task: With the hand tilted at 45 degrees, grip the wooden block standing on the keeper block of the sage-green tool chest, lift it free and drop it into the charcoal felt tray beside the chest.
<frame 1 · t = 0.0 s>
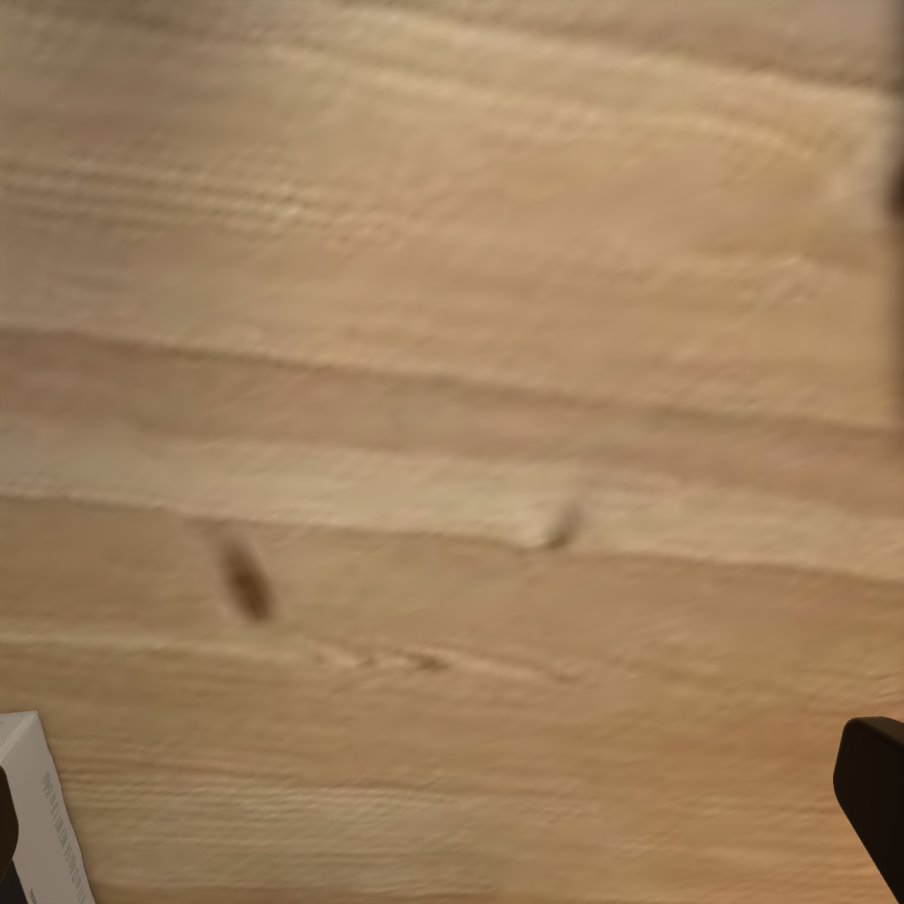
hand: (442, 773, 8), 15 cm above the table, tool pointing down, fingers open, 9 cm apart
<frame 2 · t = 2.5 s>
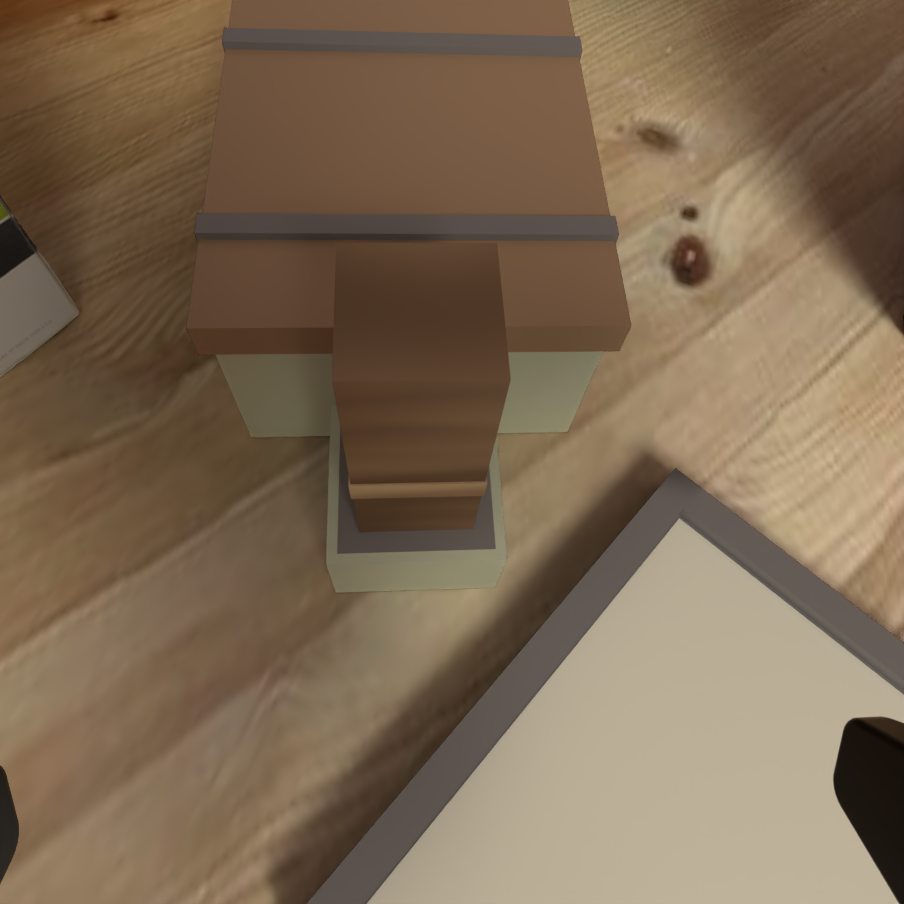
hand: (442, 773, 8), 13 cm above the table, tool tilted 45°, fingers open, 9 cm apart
tool chest: (414, 515, 23), on the table
felt tray: (679, 845, 19), on the table
wooden block: (415, 478, 20), point 3 cm above the table, touching tool chest
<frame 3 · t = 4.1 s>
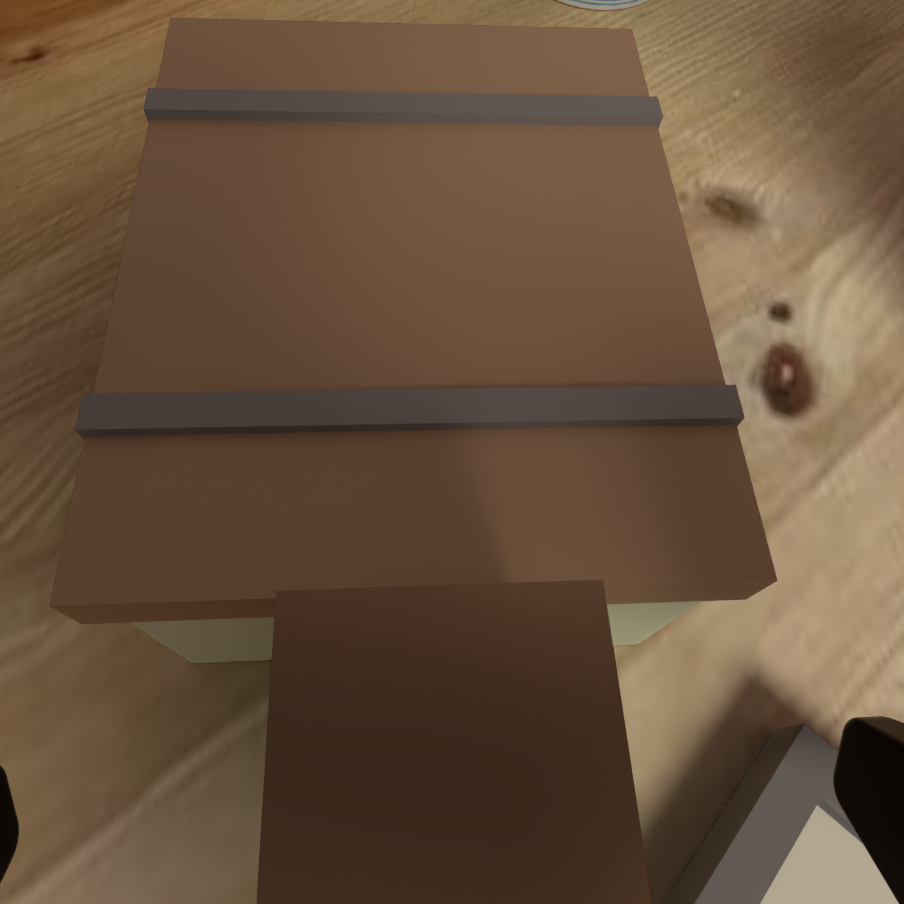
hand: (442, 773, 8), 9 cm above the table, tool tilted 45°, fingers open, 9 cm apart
tool chest: (424, 788, 16), on the table
wooden block: (427, 785, 13), point 3 cm above the table, touching tool chest
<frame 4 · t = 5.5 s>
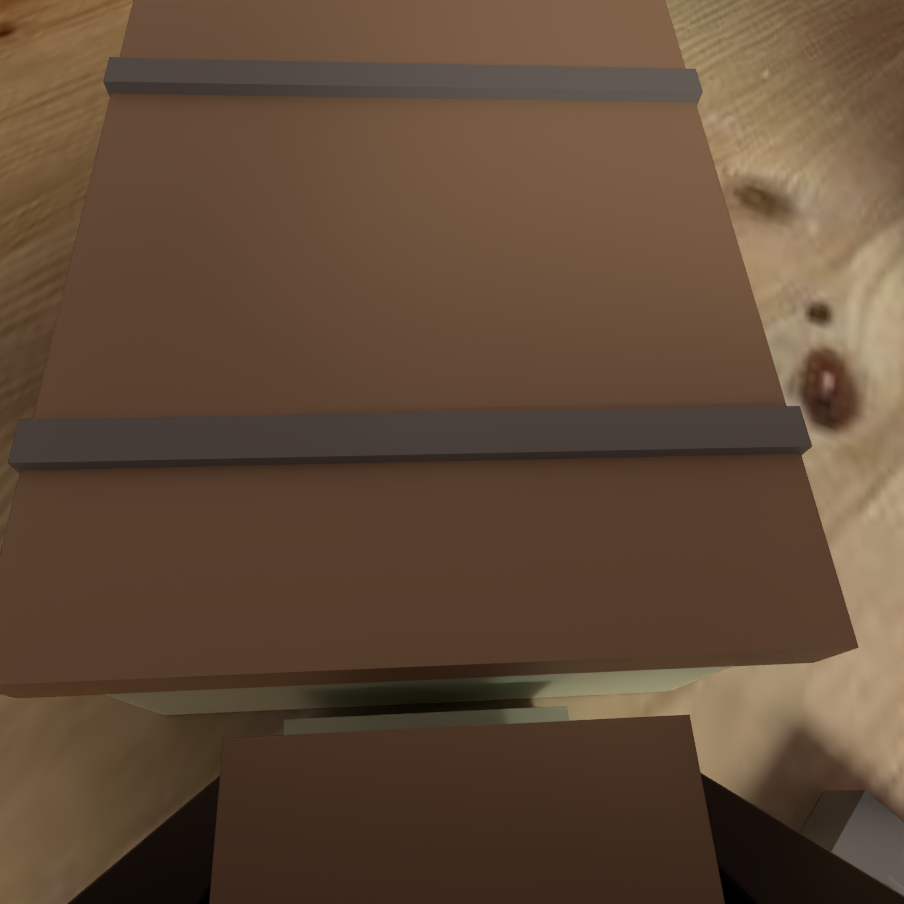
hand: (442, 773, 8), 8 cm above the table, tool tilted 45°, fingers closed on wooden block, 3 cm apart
tool chest: (428, 861, 14), on the table
wooden block: (433, 877, 11), point 3 cm above the table, touching gripper, tool chest
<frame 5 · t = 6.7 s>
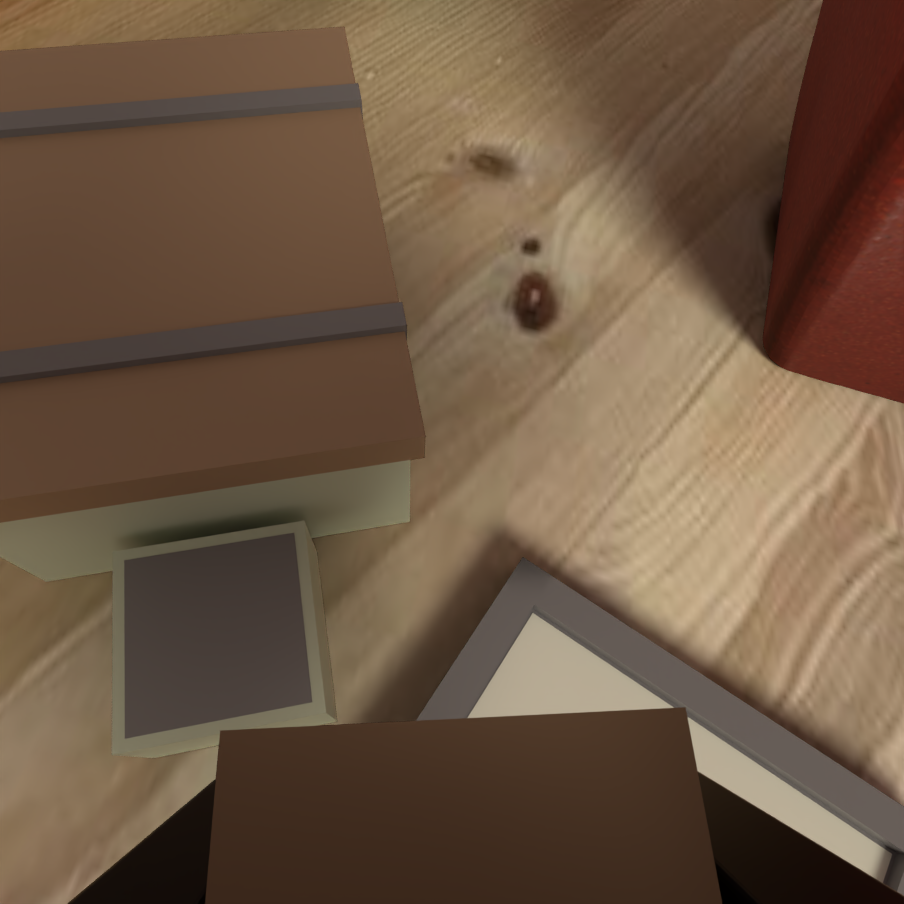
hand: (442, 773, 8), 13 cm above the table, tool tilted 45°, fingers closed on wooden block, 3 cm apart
tool chest: (240, 648, 20), on the table
wooden block: (431, 874, 11), point 8 cm above the table, touching gripper
when the fingers open (8 cm above the table, at t = 8.2 s): wooden block drops 2 cm, resting on felt tray.
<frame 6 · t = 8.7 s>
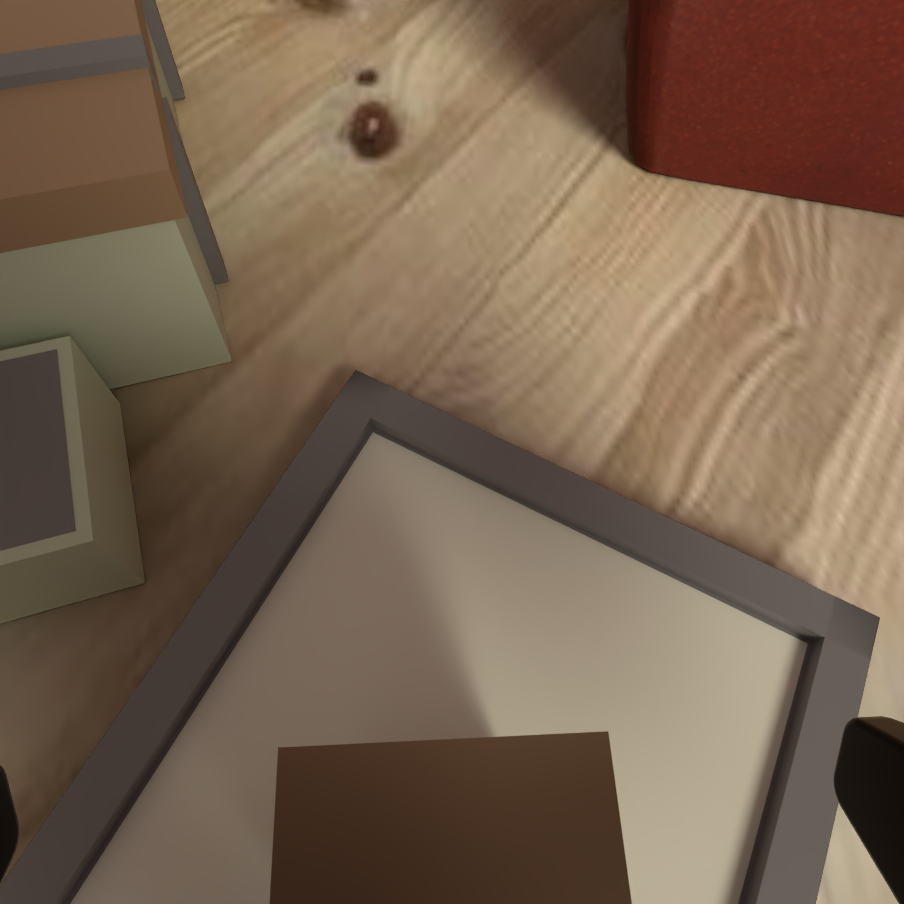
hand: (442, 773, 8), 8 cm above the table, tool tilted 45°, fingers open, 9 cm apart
plant pot: (806, 90, 26), on the table
tool chest: (24, 515, 17), on the table
felt tray: (427, 860, 14), on the table
wooden block: (429, 861, 13), point 1 cm above the table, touching felt tray
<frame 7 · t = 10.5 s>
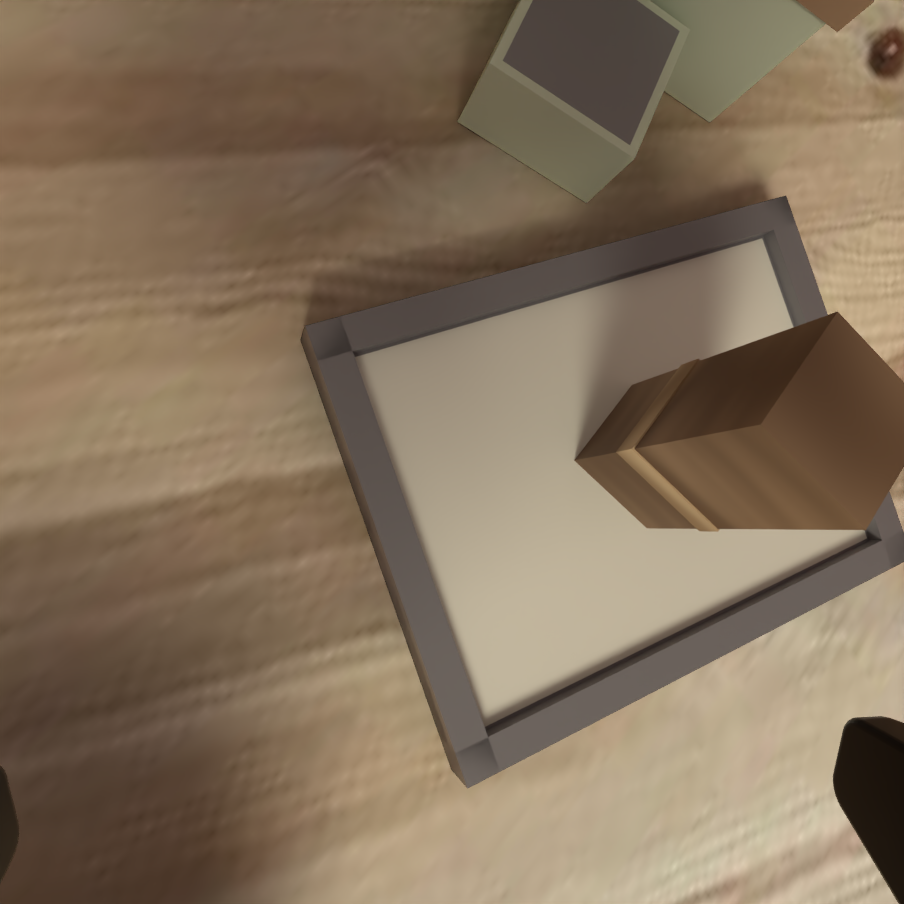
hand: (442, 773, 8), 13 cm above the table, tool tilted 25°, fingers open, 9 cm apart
tool chest: (551, 103, 24), on the table
felt tray: (620, 460, 23), on the table
wooden block: (639, 456, 22), point 1 cm above the table, touching felt tray
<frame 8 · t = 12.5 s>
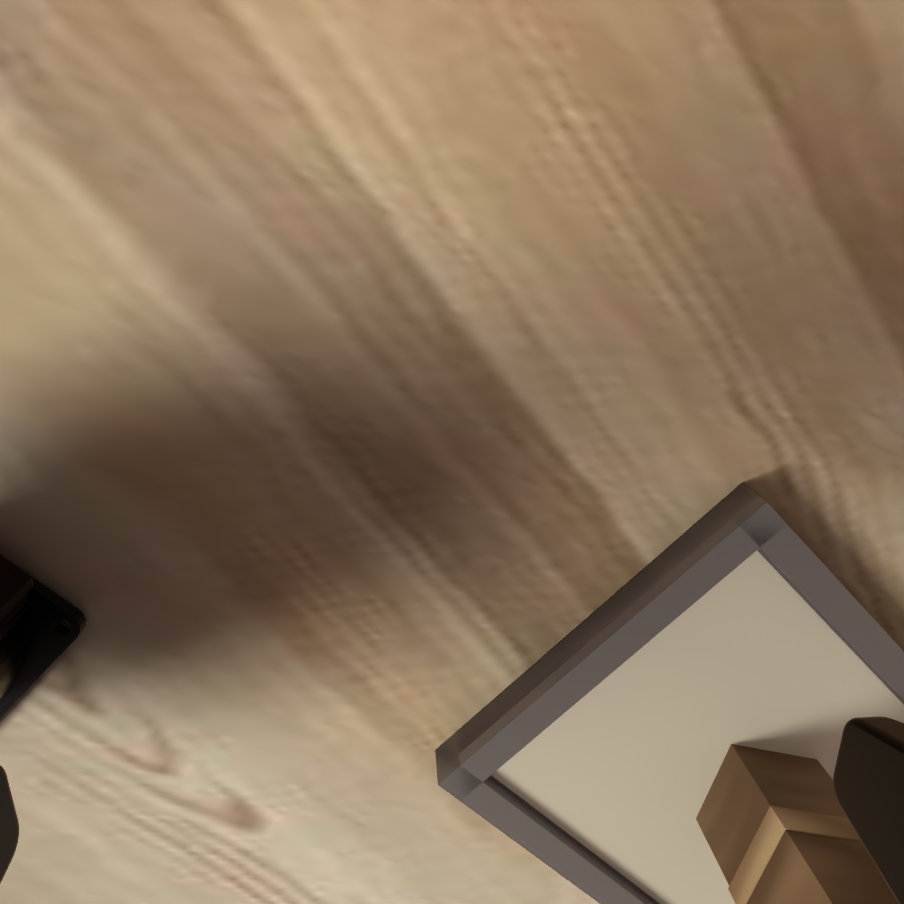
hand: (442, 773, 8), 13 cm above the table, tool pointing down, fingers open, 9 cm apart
felt tray: (740, 766, 25), on the table
wooden block: (755, 789, 24), point 1 cm above the table, touching felt tray
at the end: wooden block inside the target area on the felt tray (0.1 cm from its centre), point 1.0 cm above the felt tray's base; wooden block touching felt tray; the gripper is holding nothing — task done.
